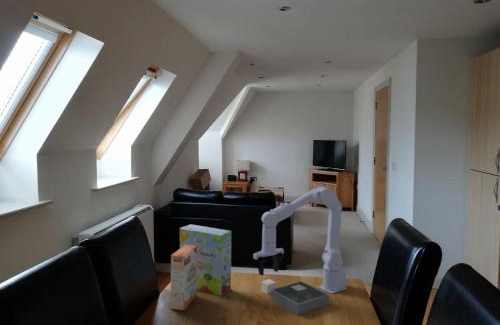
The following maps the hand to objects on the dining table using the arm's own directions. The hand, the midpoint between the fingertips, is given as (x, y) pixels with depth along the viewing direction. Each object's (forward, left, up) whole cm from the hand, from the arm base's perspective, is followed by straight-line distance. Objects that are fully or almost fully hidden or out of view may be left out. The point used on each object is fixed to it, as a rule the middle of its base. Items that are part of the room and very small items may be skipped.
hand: (268, 272), depth 156 cm
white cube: (0, 0, -8) cm, 8 cm away
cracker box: (+34, -9, -8) cm, 36 cm away
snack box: (+21, -17, -8) cm, 28 cm away
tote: (-4, +15, -8) cm, 17 cm away
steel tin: (-4, +15, -7) cm, 17 cm away
